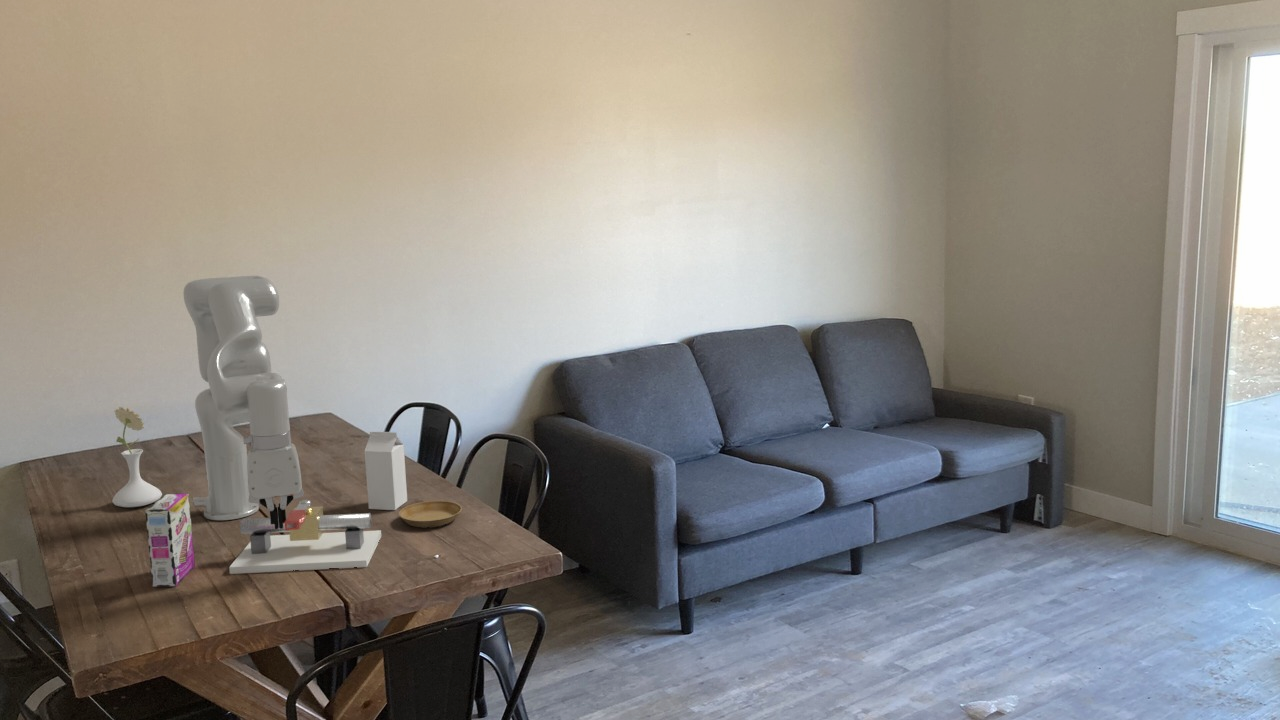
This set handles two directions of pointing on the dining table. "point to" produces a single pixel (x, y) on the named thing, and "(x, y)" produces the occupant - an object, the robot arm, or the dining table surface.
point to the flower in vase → (133, 468)
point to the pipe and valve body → (308, 528)
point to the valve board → (307, 554)
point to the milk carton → (385, 471)
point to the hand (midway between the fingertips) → (279, 526)
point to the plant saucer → (430, 513)
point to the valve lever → (297, 515)
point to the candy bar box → (170, 540)
